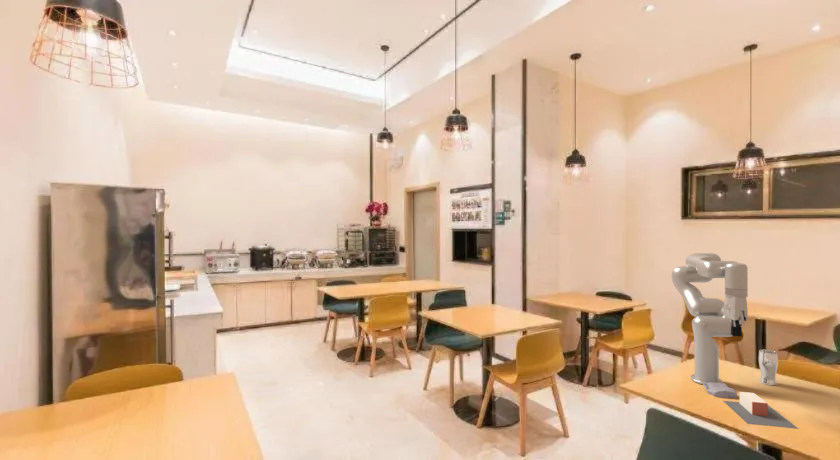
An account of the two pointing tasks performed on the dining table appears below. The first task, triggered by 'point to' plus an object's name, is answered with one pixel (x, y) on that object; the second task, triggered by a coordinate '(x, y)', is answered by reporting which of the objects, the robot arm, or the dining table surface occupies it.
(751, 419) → the charcoal mat
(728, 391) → the stone block
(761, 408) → the cream block
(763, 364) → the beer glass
